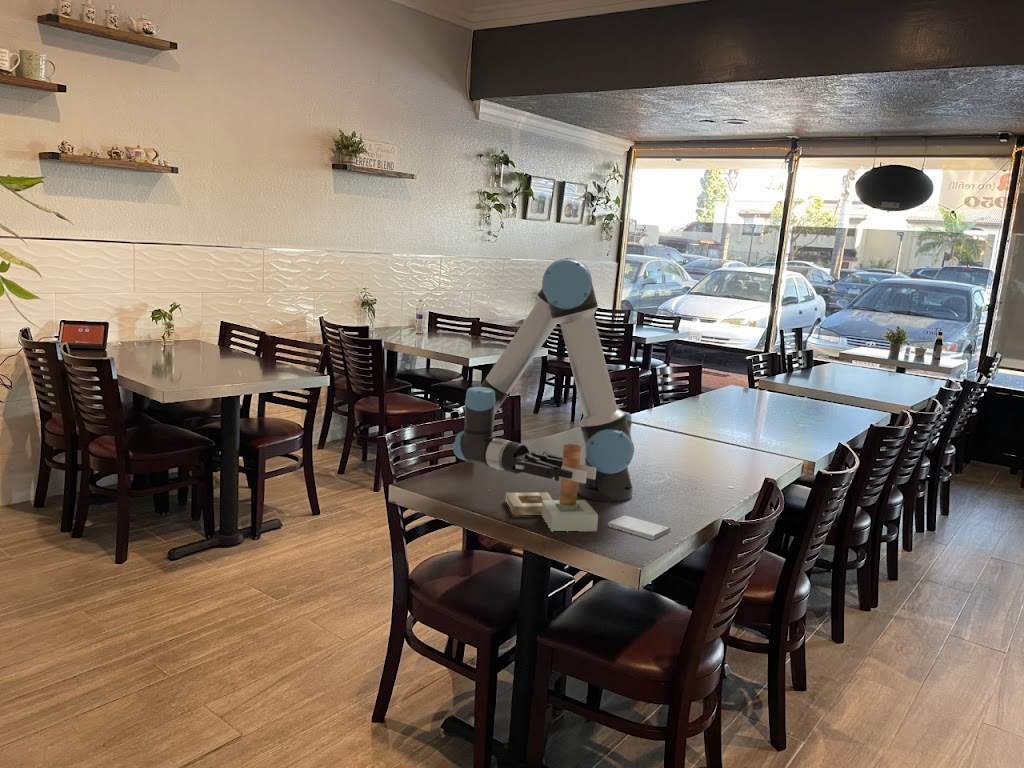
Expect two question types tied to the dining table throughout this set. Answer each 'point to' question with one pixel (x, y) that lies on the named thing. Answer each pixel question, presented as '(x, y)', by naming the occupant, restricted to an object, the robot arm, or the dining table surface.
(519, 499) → the holder
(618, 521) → the hard drive
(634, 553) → the dining table surface
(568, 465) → the peg
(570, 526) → the socket block
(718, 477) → the dining table surface
